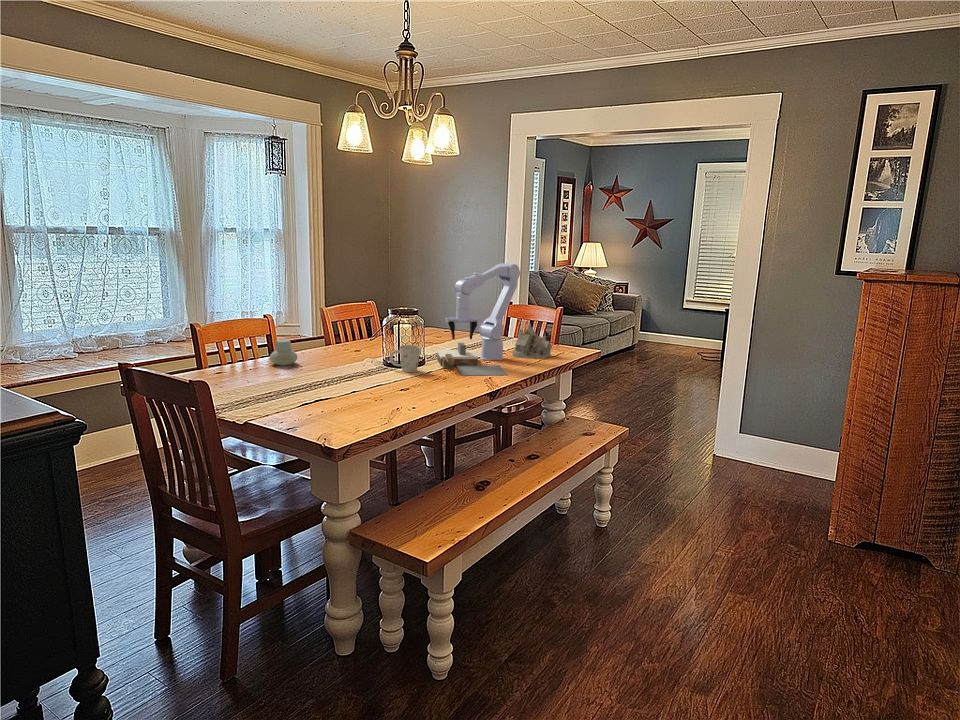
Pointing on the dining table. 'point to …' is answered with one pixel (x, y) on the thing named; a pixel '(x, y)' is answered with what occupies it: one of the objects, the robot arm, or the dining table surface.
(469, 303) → the robot arm
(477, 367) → the mat
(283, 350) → the air freshener
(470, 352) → the lid
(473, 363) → the brown wooden tray
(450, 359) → the key
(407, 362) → the mug
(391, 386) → the dining table surface
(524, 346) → the ceramic cottage
